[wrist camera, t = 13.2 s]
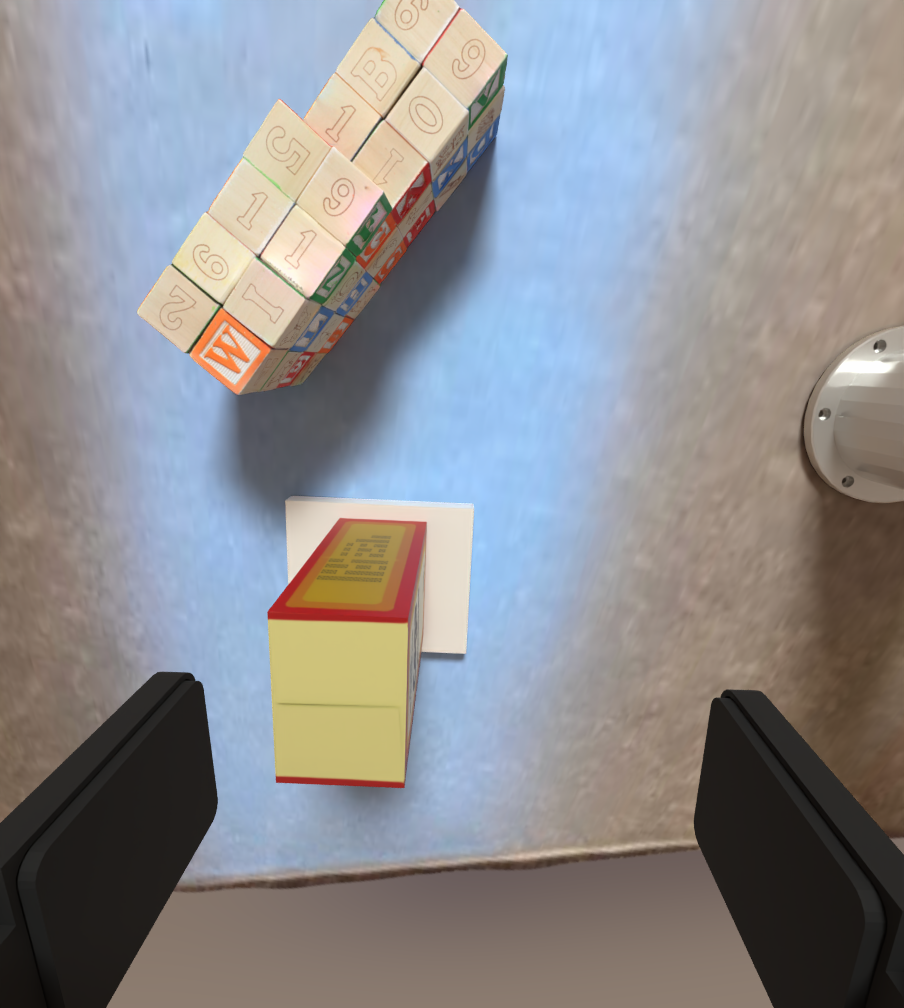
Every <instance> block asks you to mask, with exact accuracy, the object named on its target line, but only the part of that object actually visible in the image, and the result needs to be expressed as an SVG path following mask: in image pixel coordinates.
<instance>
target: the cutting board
mask: <svg viewBox="0 0 904 1008" xmlns="http://www.w3.org/2000/svg"><path fill="white" fill-rule="evenodd" d="M285 505H286V532H287V559H288V585H289V583H290V582H291V581H292V579H293V578H294V577H295V576H296V574H297V573H298V572H299V570H300V569H301V568H302V566H303V565H304V564H305V563H306V561H307V560H308V559H309V557H310V556H311V555H312V553H313V552H314V551H315V549H316V548H317V547H318V546H319V544H320V543H321V542H322V540H323V539H324V538H325V536H326V535H327V534H328V533H329V531H330V530H331V529H332V527H333V526H334V525H335V523H336V522H337V521H338V520H339V518H351V519H374V520H397V521H420V522H427V534H426V566H425V598H424V630H423V643H422V651H421V652H438V653H461V654H466V643H467V626H468V608H469V590H470V572H471V554H472V536H473V518H474V505H473V504H468V503H446V502H423V501H401V500H378V499H356V498H333V497H311V496H290V497H289V498H288V499H287V500H285Z"/></svg>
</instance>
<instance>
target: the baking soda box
mask: <svg viewBox="0 0 904 1008" xmlns="http://www.w3.org/2000/svg"><path fill="white" fill-rule="evenodd" d="M426 534H427V522H420V521H397V520H374V519H351V518H339V520H338V521H337V522H336V523H335V525H334V526H333V527H332V529H331V530H330V531H329V533H328V534H327V535H326V536H325V538H324V539H323V540H322V542H321V543H320V544H319V546H318V547H317V548H316V549H315V551H314V552H313V553H312V555H311V556H310V557H309V559H308V560H307V561H306V563H305V564H304V565H303V566H302V568H301V569H300V570H299V572H298V573H297V574H296V576H295V577H294V578H293V579H292V581H291V582H290V583H289V585H288V586H287V587H286V589H285V590H284V591H283V592H282V594H281V595H280V596H279V598H278V599H277V600H276V602H275V603H274V604H273V606H272V607H271V608H270V609H269V611H268V631H269V651H270V671H271V691H272V711H273V731H274V751H275V771H276V783H298V784H321V785H345V786H368V787H392V788H404V786H405V778H406V770H407V762H408V754H409V746H410V738H411V730H412V722H413V714H414V706H415V698H416V691H417V683H418V675H419V667H420V659H421V651H422V643H423V630H424V598H425V566H426Z"/></svg>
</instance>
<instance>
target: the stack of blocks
mask: <svg viewBox="0 0 904 1008" xmlns="http://www.w3.org/2000/svg"><path fill="white" fill-rule="evenodd" d="M507 57H508V55H507V54H506V52H505V51H504V50H503V49H502V48H501V47H500V46H499V45H498V44H497V43H496V42H495V41H494V40H493V39H492V38H491V37H490V36H489V35H488V34H487V33H486V32H485V31H484V30H483V29H482V28H481V27H480V25H479V24H478V23H477V22H476V21H475V20H474V19H473V18H472V17H471V16H470V15H469V14H468V13H467V12H466V11H465V10H464V9H461V8H460V7H459V6H458V5H457V3H456V2H455V1H454V0H384V1H383V2H382V4H381V6H380V7H379V9H378V10H377V13H376V15H375V17H374V18H371V19H370V20H369V21H368V23H367V24H366V26H365V27H364V29H363V30H362V32H361V33H360V35H359V36H358V38H357V39H356V41H355V42H354V44H353V45H352V47H351V48H350V50H349V51H348V53H347V54H346V56H345V57H344V59H343V60H342V62H341V63H340V64H339V66H338V68H337V70H336V72H335V73H334V74H333V75H332V76H331V77H330V78H329V80H328V82H327V83H326V85H325V86H324V88H323V89H322V91H321V92H320V94H319V95H318V97H317V98H316V100H315V102H314V103H313V105H312V106H311V108H310V109H309V111H308V112H307V114H306V115H305V117H304V119H303V120H302V119H301V118H300V117H299V116H298V115H297V114H296V113H295V112H294V111H293V110H292V109H291V108H290V107H289V106H288V105H286V104H285V103H284V102H283V101H282V100H281V99H278V101H277V102H276V103H275V105H274V106H273V108H272V109H271V111H270V113H269V114H268V116H267V117H266V119H265V120H264V122H263V124H262V125H261V127H260V129H259V130H258V132H257V133H256V134H255V136H254V137H253V139H252V140H251V142H250V144H249V145H248V147H247V148H246V150H245V151H244V153H243V158H242V159H241V161H240V162H239V164H238V165H237V166H236V168H235V169H234V171H233V172H232V174H231V175H230V177H229V178H228V180H227V181H226V183H225V185H224V187H223V188H222V190H221V191H220V192H219V194H218V195H217V197H216V198H215V200H214V201H213V203H212V205H211V206H210V208H209V211H208V212H205V213H204V214H203V215H202V217H201V218H200V220H199V221H198V222H197V224H196V225H195V227H194V228H193V230H192V231H191V233H190V234H189V236H188V237H187V239H186V240H185V242H184V244H183V245H182V247H181V248H180V250H179V251H178V253H177V254H176V256H175V257H174V259H173V261H172V264H171V265H169V266H167V267H166V269H165V270H164V272H163V273H162V275H161V276H160V277H159V279H158V280H157V282H156V283H155V285H154V286H153V288H152V289H151V291H150V292H149V293H148V295H147V296H146V298H145V299H144V301H143V302H142V304H141V305H140V307H139V308H138V311H137V313H138V315H139V316H140V317H141V318H143V319H144V320H145V321H146V322H148V323H149V324H150V325H151V326H152V327H154V328H155V329H156V330H157V331H158V332H160V333H161V334H162V335H163V336H164V337H166V338H167V339H168V340H169V341H170V342H172V343H173V344H174V345H175V346H176V347H178V348H179V349H180V350H181V351H182V352H184V353H189V355H190V357H191V358H192V359H193V360H194V361H195V362H196V363H198V364H199V365H200V366H201V367H203V368H204V369H205V370H206V371H207V372H209V373H210V374H211V375H212V376H214V377H215V378H216V379H217V380H219V381H220V382H221V383H222V384H224V385H225V386H226V387H227V388H229V389H230V390H231V391H232V392H234V393H235V394H237V395H243V394H248V393H252V392H262V391H268V390H274V389H276V388H280V387H285V386H289V385H290V386H296V385H300V384H302V383H304V381H305V380H306V379H307V377H308V376H309V375H310V374H311V372H312V371H313V370H314V369H315V367H316V366H317V365H318V364H319V362H320V361H321V360H322V359H323V357H324V356H325V355H326V353H328V352H330V350H331V349H332V348H333V346H334V345H335V344H336V343H337V341H338V340H339V339H340V338H341V336H342V335H343V334H344V332H345V331H346V330H347V329H348V327H349V326H350V325H351V324H352V322H353V321H354V319H355V318H356V317H357V316H358V315H359V314H360V312H361V311H362V310H363V309H364V307H365V306H366V305H367V304H368V302H369V301H370V300H371V298H372V297H373V296H374V294H375V293H376V292H377V291H378V289H379V288H380V285H381V282H382V281H383V280H384V279H385V278H386V276H387V275H388V274H389V272H390V271H391V270H392V268H393V267H394V266H395V265H396V263H397V262H398V261H399V259H400V258H401V257H402V256H403V254H404V253H405V252H406V250H407V247H408V246H409V245H410V244H411V243H412V241H413V240H414V239H415V238H416V236H417V235H418V234H419V232H420V231H421V230H422V229H423V227H424V226H425V225H426V223H427V222H428V221H429V219H430V218H431V217H432V216H433V214H434V212H435V211H436V212H437V211H439V210H440V208H441V207H442V206H443V205H444V203H445V202H446V201H447V199H448V198H449V197H450V196H451V194H452V193H453V192H454V191H455V189H456V188H457V187H458V185H459V184H460V183H461V182H462V180H463V179H464V178H465V176H466V174H467V172H468V171H469V170H470V169H471V168H472V166H473V165H474V164H475V163H476V161H477V160H478V159H479V157H480V156H481V155H482V154H483V152H484V151H485V150H486V148H487V147H488V146H489V144H490V143H491V142H492V141H493V139H494V138H495V136H496V135H497V131H498V125H499V119H500V113H501V110H502V104H503V98H504V91H505V87H504V86H503V84H504V79H505V71H506V66H507Z"/></svg>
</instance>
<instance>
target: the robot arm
mask: <svg viewBox="0 0 904 1008" xmlns="http://www.w3.org/2000/svg"><path fill="white" fill-rule="evenodd" d="M818 414H819V415H818ZM804 439H805V447H806V451H807V454H808V457H809V459H810V462H811V464H812V466H813V467H814V469H815V470H816V472H817V474H818V475H819V476H820V477H821V478H822V479H823V480H824V481H825V482H826V483H827V484H828V485H829V486H830V487H832V488H834V489H835V490H837V491H838V492H840V493H842V494H845V495H847V496H850V497H853V498H855V499H859V500H863V501H867V502H871V503H893V502H900V501H904V326H899V327H892V328H887V329H884V330H882V331H879V332H876V333H873V334H870V335H868V336H867V337H865V338H863V339H861V340H859V341H857V342H856V343H854V344H853V345H851V346H850V347H849V348H848V349H846V350H845V351H844V352H842V353H841V354H840V355H839V356H838V357H837V358H836V359H835V360H834V361H833V362H832V363H831V364H830V366H829V367H828V368H827V369H826V370H825V372H824V373H823V375H822V376H821V378H820V379H819V381H818V382H817V384H816V386H815V388H814V390H813V393H812V395H811V397H810V399H809V402H808V406H807V410H806V414H805V421H804ZM217 804H218V797H217V789H216V782H215V774H214V766H213V758H212V751H211V743H210V735H209V727H208V720H207V712H206V704H205V696H204V689H203V685H202V683H201V682H199V681H195V678H194V676H193V675H192V674H191V673H185V672H157V673H156V674H154V675H153V676H152V677H151V678H150V679H149V680H148V681H147V682H146V683H145V684H144V685H143V686H142V687H141V688H140V689H139V690H137V691H136V692H135V693H134V694H133V695H132V696H131V697H130V698H129V699H128V700H127V701H126V702H125V703H124V704H123V705H122V706H121V707H120V708H119V709H118V710H117V711H116V712H115V713H114V714H113V715H112V716H111V717H110V718H109V719H107V720H106V721H105V722H104V723H103V724H102V725H101V726H100V727H99V728H98V729H97V730H96V731H95V732H94V733H93V734H92V735H91V736H90V737H89V738H88V739H87V740H86V741H85V742H84V743H83V744H82V745H81V746H80V747H79V748H78V749H76V750H75V751H74V752H73V753H72V754H71V755H70V756H69V757H68V758H67V759H66V760H65V761H64V762H63V763H62V764H61V765H60V766H59V767H58V768H57V769H56V770H55V771H54V772H53V773H52V774H51V775H50V776H49V777H48V778H46V779H45V780H44V781H43V782H42V783H41V784H40V785H39V786H38V787H37V788H36V789H35V790H34V791H33V792H32V793H31V794H30V795H29V796H28V797H27V798H26V799H25V800H24V801H23V802H22V803H21V804H20V805H19V806H18V807H16V808H15V809H14V810H13V811H12V812H11V813H10V814H9V815H8V816H7V817H6V818H5V819H4V820H3V821H2V822H1V823H0V1008H106V1007H107V1005H108V1003H109V1002H110V1000H111V998H112V996H113V994H114V993H115V991H116V989H117V988H118V986H119V984H120V982H121V981H122V979H123V977H124V975H125V974H126V972H127V970H128V968H129V967H130V965H131V963H132V961H133V960H134V958H135V956H136V955H137V953H138V951H139V949H140V948H141V946H142V944H143V942H144V940H145V939H146V937H147V935H148V934H149V932H150V930H151V928H152V927H153V925H154V923H155V921H156V920H157V918H158V916H159V914H160V912H161V911H162V909H163V908H164V906H165V904H166V902H167V901H168V899H169V897H170V895H171V894H172V892H173V890H174V888H175V887H176V885H177V883H178V881H179V880H180V878H181V876H182V874H183V873H184V871H185V869H186V867H187V866H188V864H189V862H190V861H191V859H192V857H193V855H194V854H195V852H196V850H197V848H198V847H199V845H200V843H201V841H202V840H203V838H204V836H205V834H206V833H207V831H208V829H209V827H210V826H211V824H212V822H213V820H214V817H215V814H216V810H217ZM694 830H695V835H696V839H697V842H698V844H699V846H700V849H701V851H702V853H703V855H704V857H705V860H706V862H707V864H708V866H709V868H710V870H711V873H712V875H713V877H714V879H715V881H716V883H717V886H718V888H719V890H720V892H721V894H722V896H723V898H724V901H725V903H726V905H727V907H728V909H729V911H730V913H731V916H732V918H733V920H734V922H735V925H736V927H737V929H738V931H739V933H740V935H741V937H742V940H743V942H744V944H745V946H746V948H747V951H748V953H749V955H750V957H751V959H752V961H753V964H754V966H755V968H756V970H757V972H758V975H759V977H760V979H761V981H762V983H763V985H764V987H765V990H766V992H767V994H768V996H769V998H770V1001H771V1003H772V1005H773V1007H774V1008H904V855H903V854H902V852H901V851H900V850H899V849H898V848H897V847H896V845H895V844H894V843H893V842H892V841H891V840H890V838H889V837H888V836H887V835H886V834H885V833H884V831H883V830H882V829H881V828H880V827H879V826H878V825H877V823H876V822H875V821H874V820H873V819H872V818H871V817H870V815H869V814H868V813H867V812H866V811H865V810H864V808H863V807H862V806H861V805H860V804H859V803H858V802H857V800H856V799H855V798H854V797H853V796H852V795H851V793H850V792H849V791H848V790H847V789H846V788H845V787H844V785H843V784H842V783H841V782H840V781H839V780H838V778H837V777H836V776H835V775H834V774H833V773H832V772H831V770H830V769H829V768H828V767H827V766H826V765H825V764H824V762H823V761H822V760H821V759H820V758H819V757H818V755H817V754H816V753H815V752H814V751H813V750H812V749H811V747H810V746H809V745H808V744H807V743H806V742H805V740H804V739H803V738H802V737H801V736H800V735H799V734H798V732H797V731H796V730H795V729H794V728H793V727H792V725H791V724H790V723H789V722H788V721H787V720H786V719H785V717H784V716H783V715H782V714H781V713H780V712H779V711H778V709H777V708H776V707H775V706H774V705H773V704H772V702H771V701H770V700H769V699H768V698H767V697H766V696H765V695H764V694H763V693H762V692H761V691H756V690H725V691H723V693H722V694H721V698H714V699H713V701H712V704H711V709H710V716H709V722H708V729H707V735H706V742H705V749H704V755H703V762H702V769H701V775H700V782H699V788H698V795H697V802H696V808H695V815H694Z"/></svg>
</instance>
